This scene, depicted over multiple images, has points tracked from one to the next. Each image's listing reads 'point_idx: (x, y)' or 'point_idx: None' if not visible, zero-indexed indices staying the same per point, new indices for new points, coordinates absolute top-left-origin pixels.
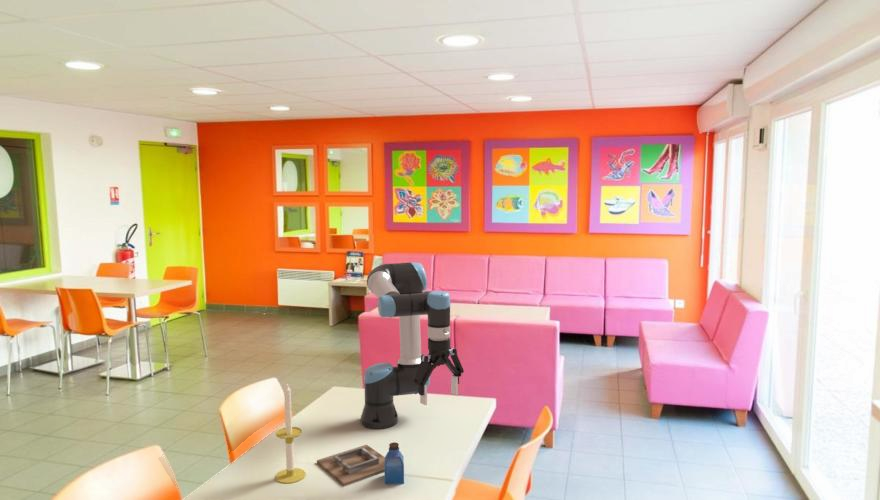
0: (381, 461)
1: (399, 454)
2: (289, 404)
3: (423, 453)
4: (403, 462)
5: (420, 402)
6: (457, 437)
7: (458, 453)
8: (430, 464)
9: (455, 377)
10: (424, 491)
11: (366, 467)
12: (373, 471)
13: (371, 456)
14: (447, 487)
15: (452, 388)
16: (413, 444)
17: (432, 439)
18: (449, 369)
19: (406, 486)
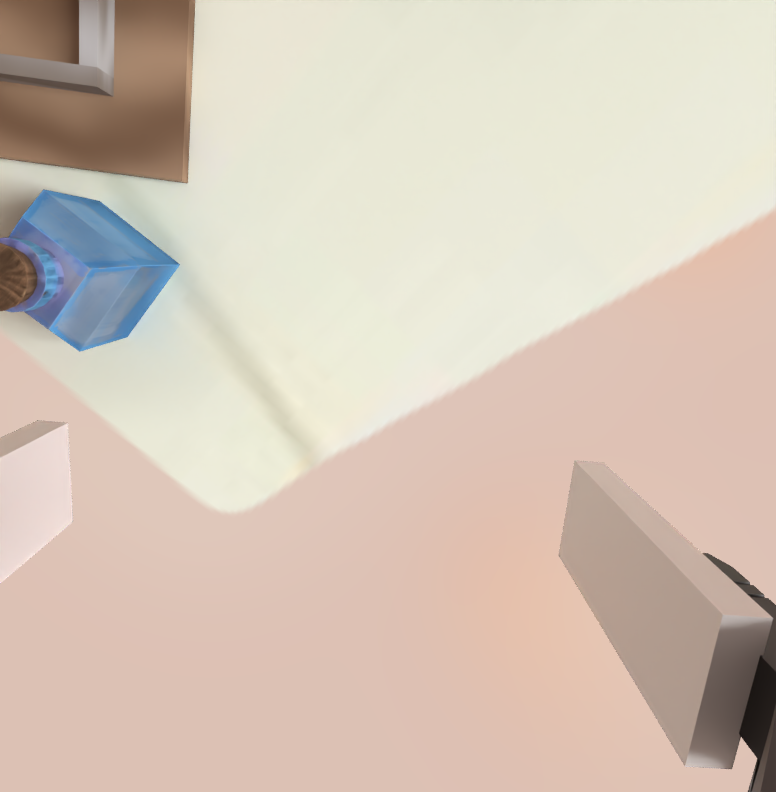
0: (141, 82)
1: (61, 302)
2: None
3: (407, 164)
4: (93, 328)
5: (33, 427)
6: (694, 157)
7: (538, 307)
8: (347, 289)
9: (681, 737)
10: (157, 454)
11: (26, 84)
12: (42, 147)
13: (81, 21)
14: (257, 499)
15: (598, 519)
16: (447, 22)
17: (576, 59)
18: (769, 749)
19: (119, 366)
